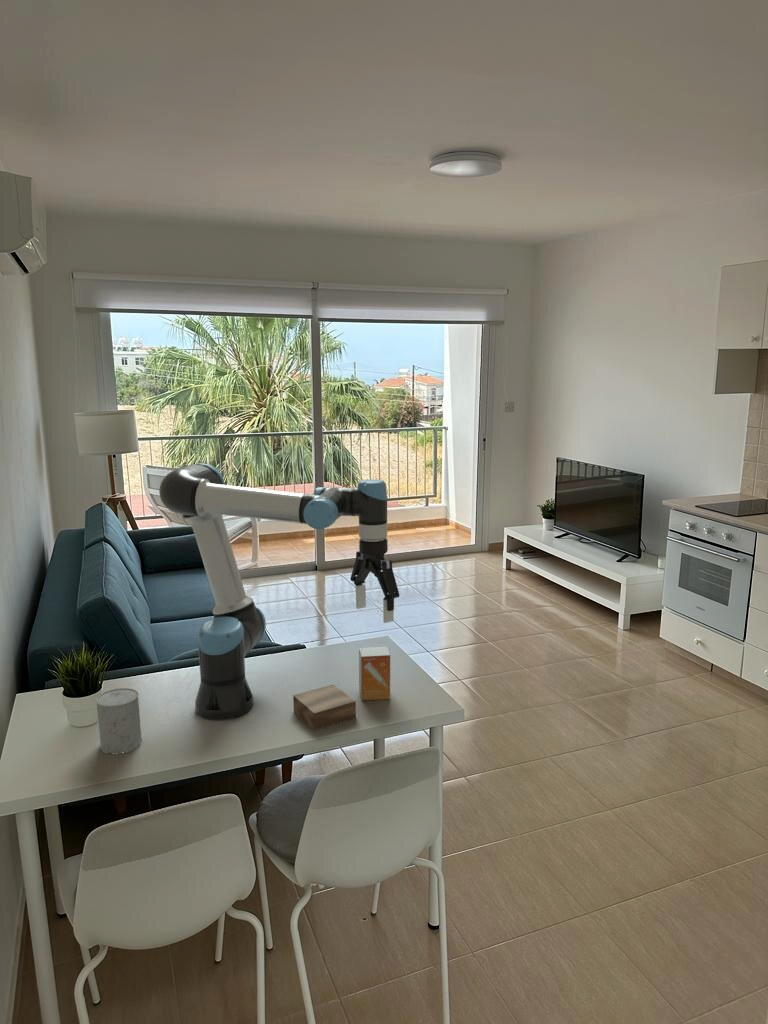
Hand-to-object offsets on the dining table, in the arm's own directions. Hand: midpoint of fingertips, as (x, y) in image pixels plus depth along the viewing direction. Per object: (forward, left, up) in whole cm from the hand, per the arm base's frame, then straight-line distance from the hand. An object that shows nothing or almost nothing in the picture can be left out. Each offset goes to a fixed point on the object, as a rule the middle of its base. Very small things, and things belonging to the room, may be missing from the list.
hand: (374, 614), depth 197 cm
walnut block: (+2, -17, -24) cm, 29 cm away
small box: (0, 0, -24) cm, 24 cm away
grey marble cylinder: (-13, -65, -24) cm, 71 cm away
